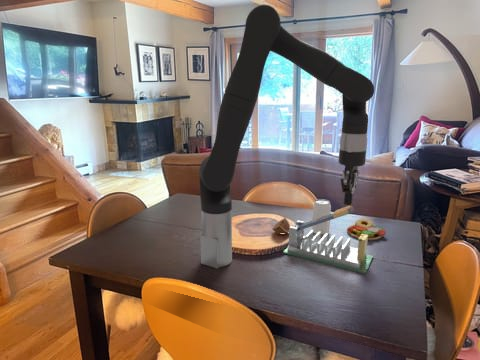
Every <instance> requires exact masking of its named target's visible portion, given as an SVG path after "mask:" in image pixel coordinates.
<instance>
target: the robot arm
mask: <svg viewBox="0 0 480 360" xmlns="http://www.w3.org/2000/svg"><path fill="white" fill-rule="evenodd" d="M281 22H282V21H281V17H280V14H279V13H278V10H276V9H275V7H273V6H271V5H270V4H264V3H263V4H260V5H257V6H255V7H254V8H252V9H251V11H250V12H249V13H248V14H247V17H246V19H245V26H244V31H243V32H244V33H243V37H242V42H241V47H240V51H239V54H238V57H237V60H236V62H235V64H234V67H233V69H232V71H231V73H230V76H229V78H228V81H227V83H226V84H227V85H226V87H225V89H224V93H223V96H222V100H221V102H220V106H219V111H218V115H217V116H218V117H217V125H216V133H215V138H214V139H215V140H214V143H213V146H212V148H211V151H210V154H209V155H208V156H207V157H205V158H204V159H203V160H202V162H201V163H200V165H199V174H198V175H199V196H200V197H199V198H200V206H201V207H200V208H201V209H200V210H201V211H200V212H201V214H200V215H201V234H200V236H199V239H200V263H201V265H205V266H207V267H210V268H214V269H220V268H222V267H226V266H228V265H230V264H231V263H232V262H233V229H232V227H233V225H232V224H233V217H232V216H233V213H232V212H233V211H232V210H233V209H232V208H233V206H232V205H233V202H232V200H233V199H232V194H231V184H232V182H233V178H234V174H235V170H236V165H237V160H238V157H239V151H240V149H241V146H242V142H243V140H244V138H245V135H246V133H247V130H248V127H249V124H250V121H251V120H252V119H251V118H252V116H253V113H254V110H255V106H256V104H257V102H258V101H257V100H258V96H259V93H260V88H261V85H262V79H263V76H264V75H263V74H264V69H265V65H266V62H267V60H268V56H269V54H270V52H272V53H274V54H275V55H276V54H277V55H279V56H281V57H282V58H283V59H285V60H288V61H289V62H291V63H292V64H294V65H295V66H297V67H298V68H300V69H301V70H302V71H304V72H306V73H307V74H309V75H310V76H311V77H313V78H314V79H316V80H318V81H319V82H321V83H322V84H324V85H325V86H328V87H331V88H333V89H334V90H336V91H337V92H339V93H340V94H342V97H341V98H342V112H343V113H342V123H341V134H340V139H339V150H338V151H339V153H338V163H339V164H340V165H341V166H344V170H342V173H341V174H342V178H340V184H341V191H342V193H344V198H343V204H344V205H345V206H350V205H351V206H352V205H353V200H354V193H355V191H356V188H357V184H358V179H359V176H360V170H359V169H358V167H363V166H365V164H366V160H367V159H366V157H367V146H368V128H369V115H368V113H367V102H368V101H370V100H371V99H372V98H373V96H374V93H375V85H374V83H373V82H372V80H371V79H370V78H369V77H367V76H365V75H364V74H362V73H360V72H359V71H357V70H355V69H353V68H350V67H348V66H347V65H345V64H344V63H342V62H341V61H340V60H338V59H337V58H336V57H334V56H333V55H331V54H329V53H328V52H326V51H325V50H323V49H321V48H319V47H317V46H315V45H312V44H310V43H308V42H305V41H303V40H301V39H299V38H298V37H296V36H294V35H293V34H292V33H290V32H289V31H288V30H286V29H285V28H284V27H283V26H282V25H281Z"/></svg>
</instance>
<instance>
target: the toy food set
mask: <svg viewBox="0 0 480 360" xmlns="http://www.w3.org/2000/svg"><path fill="white" fill-rule="evenodd" d="M346 232H347V234H349V235H350V236H351V237H353V238H355V239H358V240H359V237H360V236H361V234H366V235H368V241H375V240H376V241H377V240H379V239H381V238H383V237H384V236H385V235H386V234H387V232H386V230H385V229H383V227H382V226H380V225H376V226H374V224H373V222H372V221H370V220H369V219H364V218H360V219H357V220H356V221H355V223H354V224H351V225H349V226H348V227H346Z"/></svg>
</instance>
